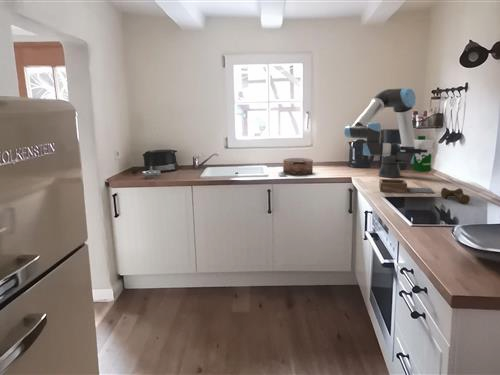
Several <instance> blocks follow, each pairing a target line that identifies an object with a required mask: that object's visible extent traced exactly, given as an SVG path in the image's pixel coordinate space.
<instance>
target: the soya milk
mask: <svg viewBox="0 0 500 375" xmlns="http://www.w3.org/2000/svg"><path fill="white" fill-rule="evenodd" d="M434 142H435V140H433V139H426V135H418V136H417V139H415V140H414V146H415V149H433V145H434ZM431 162H432V154H425V153H421V155H419V154H416V153H414V162H413V163H412V171H415V172H420V173H423V172H424V173H425V172H427V173H428V172H431V171H432V163H431Z"/></svg>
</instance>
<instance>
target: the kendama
mask: <svg viewBox="0 0 500 375" xmlns="http://www.w3.org/2000/svg"><path fill="white" fill-rule="evenodd" d="M440 196H441V198H442V197H443V198H442V199H444V198H446V199H448V198H450V197H452V198H453V197H454V198H455V200H456V201H457V202H459V203H460V204H461V205H467V204H469V203H470V200H471V197H470V196H469V194H464V191H463V189H462V188H456V189H455V190H454V189H453V190H452V189H448V188H447V187H442V189H441V191H440Z"/></svg>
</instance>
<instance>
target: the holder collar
mask: <svg viewBox="0 0 500 375" xmlns="http://www.w3.org/2000/svg"><path fill="white" fill-rule="evenodd" d="M378 187H379V191H380V192H382V193H383V192H386V193H387V192H388V193H408V192H407V191H408V189H407V187H408V183H407V181H406V180H405V179H395V178H394V179H392V178H390V179H385V178H379V184H378Z"/></svg>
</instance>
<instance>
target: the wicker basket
mask: <svg viewBox="0 0 500 375" xmlns="http://www.w3.org/2000/svg"><path fill="white" fill-rule="evenodd" d="M313 161H314V159H313V158H309V157H286V158H283V162H282V163H283V169H282V170H283V172H284V173H286V174H285V175H286V176H287V175H288V176H308V174H310V175H312V174H313V171H314V170H313V166H314V165H313V164H314V162H313ZM284 173H283V174H284ZM311 173H312V174H311Z"/></svg>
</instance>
